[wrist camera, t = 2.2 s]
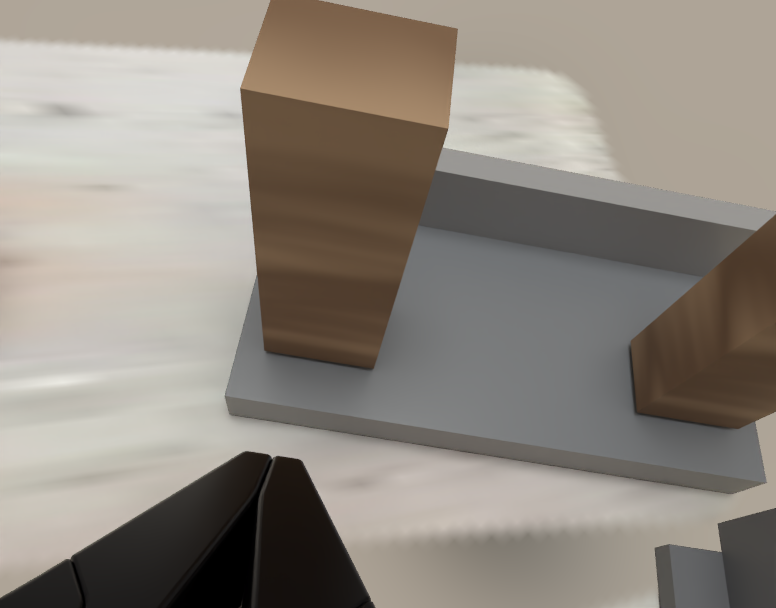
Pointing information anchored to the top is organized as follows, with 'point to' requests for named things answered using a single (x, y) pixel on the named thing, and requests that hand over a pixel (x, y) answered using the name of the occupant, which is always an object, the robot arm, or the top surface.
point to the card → (723, 568)
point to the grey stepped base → (525, 329)
